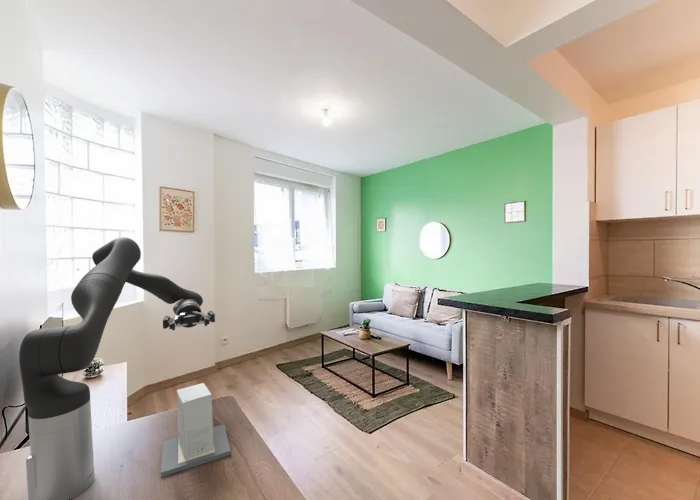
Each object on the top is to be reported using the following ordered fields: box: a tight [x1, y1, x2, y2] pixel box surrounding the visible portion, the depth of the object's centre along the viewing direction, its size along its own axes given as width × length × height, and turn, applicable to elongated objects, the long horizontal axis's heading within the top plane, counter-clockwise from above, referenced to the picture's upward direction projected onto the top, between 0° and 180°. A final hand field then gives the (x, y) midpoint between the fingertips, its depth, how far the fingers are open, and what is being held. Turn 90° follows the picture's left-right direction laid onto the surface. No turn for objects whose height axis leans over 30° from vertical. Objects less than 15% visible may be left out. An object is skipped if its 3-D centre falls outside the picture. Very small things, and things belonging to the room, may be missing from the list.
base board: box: [160, 423, 232, 478], centre depth 76 cm, size 14×12×1 cm
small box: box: [176, 382, 214, 459], centre depth 75 cm, size 8×6×13 cm
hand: (190, 324), depth 92 cm, fingers open, 8 cm apart
